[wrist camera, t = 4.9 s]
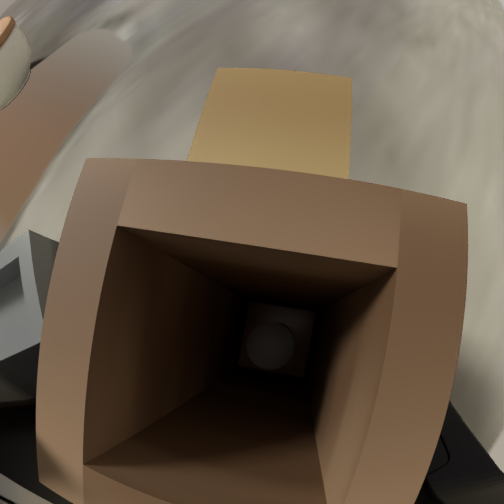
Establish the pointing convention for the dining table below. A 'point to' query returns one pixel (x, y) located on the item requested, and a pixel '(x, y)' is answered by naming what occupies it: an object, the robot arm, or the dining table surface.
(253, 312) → the pink square mat
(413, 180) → the dining table surface
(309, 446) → the sleeve
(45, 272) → the tray
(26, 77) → the lidded jar
